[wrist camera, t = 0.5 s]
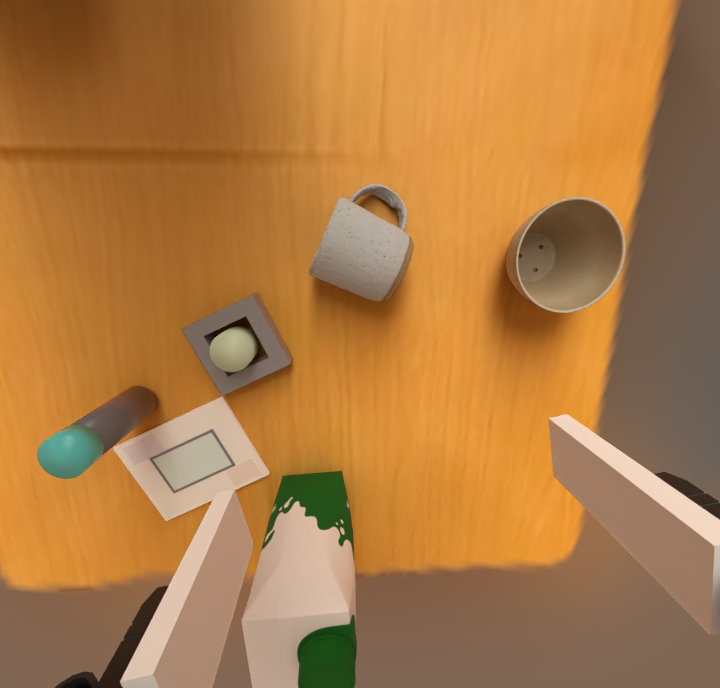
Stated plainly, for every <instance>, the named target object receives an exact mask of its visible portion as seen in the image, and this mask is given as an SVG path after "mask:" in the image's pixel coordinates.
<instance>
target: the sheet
mask: <svg viewBox="0 0 720 688" xmlns="http://www.w3.org/2000/svg"><path fill="white" fill-rule="evenodd" d="M113 450H114V451H115V452H116V454H117V455H118V456H119V458H120V459H121V461H122V462H123V463H124V465H125V466H126V467H127V469H128V470H129V471H130V473H131V474H132V476H133V477H134V478H135V480H136V481H137V482H138V484H139V485H140V487H141V488H142V489H143V491H144V492H145V493H146V495H147V496H148V497H149V499H150V500H151V502H152V503H153V504H154V506H155V507H156V508H157V510H158V511H159V512H160V514H161V515H162V517H163V518H164V519H165V521H168V520H170V519H173V518H175V517H177V516H179V515H181V514H184V513H186V512H188V511H190V510H192V509H195V508H197V507H199V506H201V505H203V504H206V503H208V502H210V501H212V500H213V499H214V497H215V495H216V493H219V492H223V491H228V490H232V489H235V490H237V489H239V488H241V487H243V486H245V485H248V484H250V483H252V482H254V481H256V480H259V479H261V478H263V477H265V476H267V475H270V471H269V470H268V468H267V466H266V465H265V463H264V461H263V460H262V458H261V457H260V455H259V453H258V452H257V450H256V448H255V447H254V445H253V443H252V442H251V440H250V439H249V437H248V435H247V434H246V432H245V430H244V429H243V427H242V425H241V424H240V422H239V421H238V419H237V417H236V416H235V414H234V412H233V411H232V409H231V407H230V406H229V404H228V403H227V401H226V399H225V398H224V396H221V397H219V398H217V399H215V400H212V401H210V402H208V403H206V404H204V405H202V406H200V407H198V408H195V409H193V410H191V411H189V412H187V413H185V414H183V415H180V416H178V417H176V418H174V419H172V420H170V421H168V422H165V423H163V424H161V425H159V426H157V427H155V428H153V429H151V430H148V431H146V432H144V433H142V434H140V435H138V436H136V437H133V438H131V439H129V440H127V441H125V442H123V443H121V444H119V445H116V446H114V447H113Z"/></svg>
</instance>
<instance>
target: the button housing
mask: <svg viewBox="0 0 720 688" xmlns="http://www.w3.org/2000/svg"><path fill="white" fill-rule="evenodd" d="M245 316H246V317H247V319H248V321H249V323H250V324H251V326H252V328H253V330H254V332H255V333H256V335H257V337H258V339H259V341H260V342H261V344H262V346H263V348H264V349H265V351H266V353H267V355H265V356H263V357H260V358H258V359H256V360H254V361H252V362H250V363H249V364H248V365H247V366H246V367H245V368H244V369H242V370H240V371H237V372H227V371H224V370H221V369H220V368H218V367H217V366H216V365H215V364H214V363H213V361H212V359H211V357H210V352H209V350H210V345H211V342H212V341H213V339H214V338H215V336H214V335H213V333H212V332H214V331H216V330H218V329H220V328H222V327H224V326H226V325H228V324H231V323H233V322H235V321H237V320H239V319H241V318H243V317H245ZM181 330H182V331H183V333H184V335H185V336H186V338H187V340H188V341H189V343H190V345H191V346H192V348H193V349H194V351H195V353H196V354H197V356H198V358H199V359H200V361H201V363H202V364H203V366H204V367H205V369H206V371H207V372H208V374H209V376H210V377H211V379H212V380H213V382H214V384H215V385H216V387H217V389H218V390H219V392H220V394H221V395H222V396H224V395H226V394H228V393H230V392H232V391H234V390H236V389H239V388H241V387H243V386H245V385H247V384H249V383H251V382H253V381H256V380H258V379H260V378H262V377H264V376H266V375H268V374H271V373H273V372H275V371H277V370H279V369H281V368H283V367H286V366H288V365H290V363H291V361H292V359H293V357H292V355H291V354H290V352H289V350H288V348H287V346H286V344H285V342H284V341H283V339H282V337H281V335H280V333H279V331H278V329H277V328H276V326H275V324H274V322H273V320H272V318H271V316H270V315H269V313H268V311H267V309H266V307H265V305H264V303H263V302H262V300H261V298H260V296H259V294H258V292H257V293H255V294H253V295H251V296H249V297H247V298H245V299H243V300H240V301H238V302H236V303H234V304H232V305H230V306H228V307H226V308H224V309H222V310H220V311H218V312H215V313H213V314H211V315H209V316H207V317H205V318H203V319H201V320H199V321H197V322H195V323H193V324H191V325H188V326H186V327H184V328H182V329H181Z"/></svg>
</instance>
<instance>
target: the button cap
mask: <svg viewBox="0 0 720 688" xmlns="http://www.w3.org/2000/svg"><path fill="white" fill-rule="evenodd" d="M209 352H210V357H211V359H212V361H213V363H214V364H215V365H216V366H217V367H218V368H220V369H221V370H224V371H227V372H237V371H240V370H242V369H244V368H245V367H246V366H247V365H248V364H249V363H250V362H251V361H252V359H253V358H254V357H255V356H256V354H257V352H258V340H257V338H256V336H255V334H254V333H253V332H252V331H250V330H249V329H247V328H245V327H241V326H234V327H231V328H229V329H227V330H225V331H224V332H222V333H221V334H219V335H218V336H216V337H215V338H214V339H213V341H212V342H211V345H210V350H209Z"/></svg>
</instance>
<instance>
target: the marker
mask: <svg viewBox="0 0 720 688" xmlns="http://www.w3.org/2000/svg"><path fill="white" fill-rule="evenodd" d="M156 405H157V402H156V398H155V396H154V394H153V393H152V392H151V391H150V390H148V389H147V388H144V387H141V386H134V387H131V388H129V389H127V390H125V391H124V392H122V393H121V394H119V395H117V396H116V397H114V398H113V399H111V400H110V401H108V402H106V403H105V404H103V405H102V406H100V407H99V408H97V409H95V410H94V411H92V412H91V413H89V414H87V415H86V416H84V417H83V418H81V419H80V420H78V421H76V422H75V423H73V424H72V425H70V426H68V427H66V428H64V429H63V430H61V431H59V432H58V433H56V434H55V435H53V436H51V437H50V438H48V439H47V440H45V441H44V442H43V443H42V444H41V445H40V447H39V449H38V454H37V455H38V460H39V463H40V465H41V466H42V468H43V469H44V470H45V471H46V472H48V473H49V474H51V475H52V476H55V477H58V478H63V479H70V478H75V477H77V476H79V475H80V474H82V473H83V472H84V471H85V470H86V469H88V468H89V467H90V466H91V465H92V464H94V463H95V462H96V461H97V460H98V459H99V458H100V457H101V456H102V455H103V454H104V453H106V452H107V451H108V450H109V449H110V448H112V447H113V446H114V445H115V444H116V443H117V442H119V441H120V440H121V439H122V438H123V437H125V436H126V435H127V434H128V433H129V432H130V431H132V430H133V429H134V428H135V427H136V426H138V425H139V424H140V423H141V422H142V421H143V420H145V419H146V418H147V417H148V416H149V415H151V414H152V413H153V412H154V410H155V409H156Z"/></svg>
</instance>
